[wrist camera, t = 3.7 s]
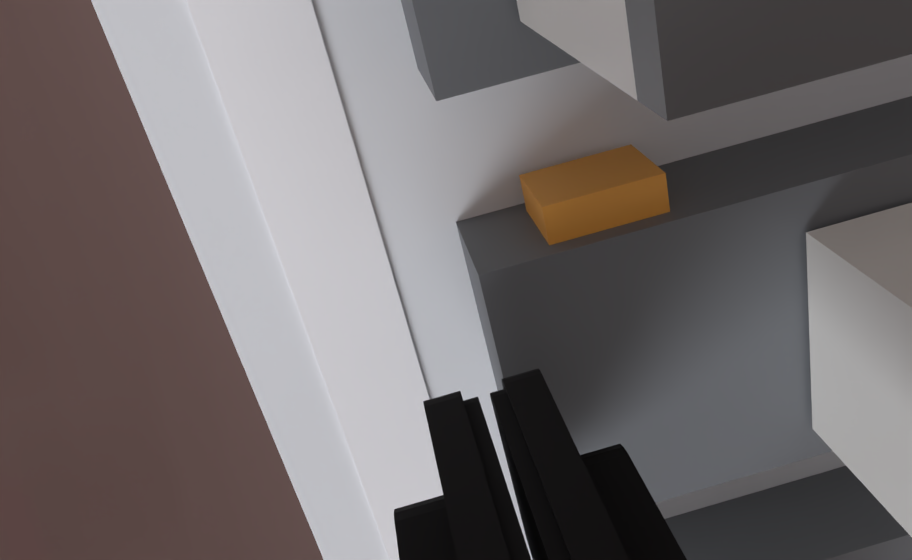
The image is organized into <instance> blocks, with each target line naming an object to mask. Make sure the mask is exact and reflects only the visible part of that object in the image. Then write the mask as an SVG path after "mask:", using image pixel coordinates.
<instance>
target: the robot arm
mask: <svg viewBox="0 0 912 560" xmlns="http://www.w3.org/2000/svg"><path fill="white" fill-rule="evenodd" d="M502 386H503V389H502V390H499V391H495V392H492V393H490V397H491V402H492V406H493V409H494V413H495V417H496V421H497V425H498V429H499V433H500V437H501V441H502V445H503V449H504V453H505V456H506V460H507V464H508V468H509V472H510V476H511V480H512V484H513V488H514V492H515V496H516V500H517V503H518V507H519V511H520V515H521V519H522V523H523V527H524V531H525V535H526V538H527V542H528V545H529V549H530V552H531V555H532V558H533V560H687V559H686V557H685V555H684V553H683V552H682V550H681V548H680V546H679V544H678V543H677V541H676V539H675V537H674V535H673V534H672V532H671V530H670V528H669V526H668V525H667V523H666V521H665V519H664V517H663V516H662V514H661V512H660V510H659V508H658V507H657V505H656V503H655V501H654V499H653V498H652V496H651V494H650V492H649V490H648V489H647V487H646V485H645V483H644V481H643V480H642V478H641V476H640V474H639V472H638V471H637V469H636V467H635V465H634V463H633V462H632V460H631V458H630V456H629V454H628V453H627V451H626V450H625V448H624V447H623V446H622V445H621V444H617V445H613V446H610V447H606V448H603V449H600V450H596V451H593V452H589V453H586V454H582V455H580V454H579V452H578V450H577V447H576V445H575V443H574V441H573V439H572V437H571V435H570V433H569V430H568V428H567V426H566V424H565V422H564V420H563V418H562V416H561V413H560V411H559V409H558V407H557V405H556V403H555V401H554V399H553V396H552V394H551V392H550V390H549V388H548V386H547V384H546V381H545V379H544V377H543V375H542V373H541V371H540V369H534V370H531V371H527V372H524V373H520V374H517V375H513V376H510V377H506V378H503V379H502ZM423 403H424V408H425V413H426V418H427V422H428V427H429V431H430V436H431V440H432V445H433V450H434V454H435V459H436V463H437V468H438V473H439V477H440V482H441V486H442V491H443V495H441V496H438V497H434V498H431V499H428V500H424V501H421V502H417V503H414V504H410V505H407V506H404V507H400V508H397V509H394V522H395V530H396V537H397V545H398V552H399V560H531V557H530V554H529V551H528V548H527V545H526V542H525V539H524V536H523V533H522V530H521V527H520V524H519V521H518V518H517V515H516V512H515V508H514V505H513V502H512V499H511V496H510V493H509V490H508V487H507V484H506V481H505V478H504V475H503V472H502V469H501V466H500V462H499V459H498V456H497V453H496V450H495V447H494V444H493V441H492V438H491V435H490V432H489V429H488V426H487V423H486V420H485V417H484V413H483V410H482V407H481V404H480V401H479V398H478V397H474V398H471V399H467V400H464V401H463V398H462V395H461V392H460V391H457V392H454V393H450V394H447V395H443V396H440V397H436V398H433V399H429V400H426V401H423Z"/></svg>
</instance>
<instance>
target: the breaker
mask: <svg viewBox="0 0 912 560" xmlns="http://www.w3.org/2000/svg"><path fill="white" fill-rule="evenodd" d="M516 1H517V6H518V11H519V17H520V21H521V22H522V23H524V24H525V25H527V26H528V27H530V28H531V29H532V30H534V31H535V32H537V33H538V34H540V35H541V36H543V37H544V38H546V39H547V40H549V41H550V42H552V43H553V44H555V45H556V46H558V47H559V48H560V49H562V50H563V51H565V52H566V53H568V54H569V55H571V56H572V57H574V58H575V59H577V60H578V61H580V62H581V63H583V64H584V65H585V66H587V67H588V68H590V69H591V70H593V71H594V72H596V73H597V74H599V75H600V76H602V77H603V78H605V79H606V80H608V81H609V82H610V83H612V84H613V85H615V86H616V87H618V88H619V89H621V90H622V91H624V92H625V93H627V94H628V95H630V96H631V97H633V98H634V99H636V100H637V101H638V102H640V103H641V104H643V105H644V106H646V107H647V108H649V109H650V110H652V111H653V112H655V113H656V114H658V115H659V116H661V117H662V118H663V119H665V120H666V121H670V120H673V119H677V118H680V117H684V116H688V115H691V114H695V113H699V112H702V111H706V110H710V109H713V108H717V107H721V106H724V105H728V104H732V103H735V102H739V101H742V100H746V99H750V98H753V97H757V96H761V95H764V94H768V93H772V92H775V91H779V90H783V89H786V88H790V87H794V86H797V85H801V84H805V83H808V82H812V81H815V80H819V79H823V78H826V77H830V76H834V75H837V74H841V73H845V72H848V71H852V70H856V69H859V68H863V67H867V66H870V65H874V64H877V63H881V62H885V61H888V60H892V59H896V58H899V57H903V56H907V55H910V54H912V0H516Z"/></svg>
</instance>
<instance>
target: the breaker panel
mask: <svg viewBox="0 0 912 560" xmlns="http://www.w3.org/2000/svg"><path fill="white" fill-rule="evenodd" d="M91 1H92V4H93V6H94V8H95V11H96V13H97V16H98V18H99V20H100V23H101V25H102V28H103V30H104V32H105V35H106V37H107V40H108V42H109V45H110V47H111V49H112V52H113V54H114V57H115V59H116V61H117V64H118V66H119V69H120V71H121V73H122V76H123V78H124V81H125V83H126V85H127V88H128V90H129V93H130V95H131V97H132V100H133V102H134V105H135V107H136V109H137V112H138V114H139V117H140V119H141V121H142V124H143V126H144V129H145V131H146V133H147V136H148V138H149V141H150V143H151V146H152V148H153V150H154V153H155V155H156V158H157V160H158V162H159V165H160V167H161V170H162V172H163V174H164V177H165V179H166V182H167V184H168V186H169V189H170V191H171V194H172V196H173V198H174V201H175V203H176V206H177V208H178V210H179V213H180V215H181V218H182V220H183V222H184V225H185V227H186V230H187V232H188V234H189V237H190V239H191V242H192V244H193V247H194V249H195V251H196V254H197V256H198V259H199V261H200V263H201V266H202V268H203V271H204V273H205V275H206V278H207V280H208V283H209V285H210V287H211V290H212V292H213V295H214V297H215V299H216V302H217V304H218V307H219V309H220V311H221V314H222V316H223V319H224V321H225V323H226V326H227V328H228V331H229V333H230V335H231V338H232V340H233V343H234V345H235V348H236V350H237V352H238V355H239V357H240V360H241V362H242V364H243V367H244V369H245V372H246V374H247V376H248V379H249V381H250V384H251V386H252V388H253V391H254V393H255V396H256V398H257V400H258V403H259V405H260V408H261V410H262V412H263V415H264V417H265V420H266V422H267V424H268V427H269V429H270V432H271V434H272V436H273V439H274V441H275V444H276V446H277V449H278V451H279V453H280V456H281V458H282V461H283V463H284V465H285V468H286V470H287V473H288V475H289V477H290V480H291V482H292V485H293V487H294V489H295V492H296V494H297V497H298V499H299V501H300V504H301V506H302V509H303V511H304V513H305V516H306V518H307V521H308V523H309V525H310V528H311V530H312V533H313V535H314V537H315V540H316V542H317V545H318V547H319V550H320V552H321V554H322V557H323V559H324V560H399V552H398V545H397V537H396V530H395V522H394V509H397V508H400V507H404V506H407V505H410V504H414V503H417V502H421V501H424V500H428V499H431V498H434V497H438V496H441V495H443V491H442V486H441V482H440V477H439V473H438V468H437V463H436V459H435V454H434V450H433V445H432V440H431V436H430V431H429V427H428V422H427V418H426V413H425V408H424V403H423V401H426V400H429V399H433V398H436V397H440V396H443V395H447V394H450V393H454V392H457V391H460V392H461V395H462V398H463V401H464V400H467V399H471V398H474V397H478V398H479V401H480V404H481V407H482V410H483V413H484V417H485V420H486V423H487V426H488V429H489V432H490V435H491V438H492V441H493V444H494V447H495V450H496V453H497V456H498V459H499V462H500V466H501V469H502V472H503V475H504V478H505V481H506V484H507V487H508V490H509V493H510V496H511V499H512V502H513V505H514V508H515V512H516V515H517V518H518V521H519V524H520V527H521V530H522V533H523V536H524V539H525V542H526V545H527V548H528V551H529V554H530V557H531V560H533V558H532V555H531V552H530V549H529V545H528V542H527V538H526V535H525V531H524V527H523V523H522V519H521V515H520V511H519V507H518V503H517V500H516V496H515V492H514V488H513V484H512V480H511V476H510V472H509V468H508V464H507V460H506V456H505V453H504V449H503V445H502V441H501V437H500V433H499V429H498V425H497V421H496V417H495V413H494V409H493V406H492V402H491V397H490V393H492V392H495V391H499V390H502V389H503V386H502V379H503V378H506V377H510V376H513V375H517V374H520V373H524V372H527V371H531V370H534V369H540V371H541V373H542V375H543V377H544V379H545V381H546V384H547V386H548V388H549V390H550V392H551V394H552V396H553V399H554V401H555V403H556V405H557V407H558V409H559V411H560V413H561V416H562V418H563V420H564V422H565V424H566V426H567V428H568V430H569V433H570V435H571V437H572V439H573V441H574V443H575V445H576V447H577V450H578V452H579V454H580V455H582V454H586V453H589V452H593V451H596V450H600V449H603V448H606V447H610V446H613V445H617V444H621V445H622V446H623V447H624V448H625V450H626V451H627V453H628V454H629V456H630V458H631V460H632V462H633V463H634V465H635V467H636V469H637V471H638V472H639V474H640V476H641V478H642V480H643V481H644V483H645V485H646V487H647V489H648V490H649V492H650V494H651V496H652V498H653V499H654V501H655V503H656V505H657V507H658V508H659V510H660V512H661V514H662V516H663V517H664V519H665V521H666V523H667V525H668V526H669V528H670V530H671V532H672V534H673V535H674V537H675V539H676V541H677V543H678V544H679V546H680V548H681V550H682V552H683V553H684V555H685V557H686V559H687V560H912V537H911V536H910V535H909V534H908V533H907V532H906V531H905V530H904V528H903V527H902V526H901V525H900V524H899V523H898V522H897V521H896V520H895V519H894V517H893V516H892V515H891V514H890V513H889V512H888V511H887V510H886V509H885V508H884V507H883V505H882V504H881V503H880V502H879V501H878V500H877V499H876V498H875V497H874V496H873V494H872V493H871V492H870V491H869V490H868V489H867V488H866V487H865V486H864V485H863V484H862V482H861V481H860V480H859V479H858V478H857V477H856V476H855V475H854V474H853V473H852V471H851V470H850V469H849V468H848V467H847V466H846V465H845V464H844V463H843V462H842V461H841V459H840V458H839V457H838V456H837V455H836V454H835V453H834V452H833V451H832V450H831V448H830V447H829V446H828V445H827V444H826V443H825V442H824V441H823V440H822V439H821V438H820V436H819V435H818V434H817V433H816V432H815V431H814V430H813V429H812V401H811V371H810V340H809V310H808V280H807V250H806V232H809V231H812V230H816V229H820V228H823V227H827V226H830V225H834V224H837V223H841V222H844V221H848V220H851V219H855V218H859V217H862V216H866V215H869V214H873V213H876V212H880V211H883V210H887V209H891V208H894V207H898V206H901V205H905V204H908V203H912V54H910V55H907V56H903V57H899V58H896V59H892V60H888V61H885V62H881V63H877V64H874V65H870V66H867V67H863V68H859V69H856V70H852V71H848V72H845V73H841V74H837V75H834V76H830V77H826V78H823V79H819V80H815V81H812V82H808V83H805V84H801V85H797V86H794V87H790V88H786V89H783V90H779V91H775V92H772V93H768V94H764V95H761V96H757V97H753V98H750V99H746V100H742V101H739V102H735V103H732V104H728V105H724V106H721V107H717V108H713V109H710V110H706V111H702V112H699V113H695V114H691V115H688V116H684V117H680V118H677V119H673V120H670V121H666V120H665V119H663V118H662V117H661V116H659V115H658V114H656V113H655V112H653V111H652V110H650V109H649V108H647V107H646V106H644V105H643V104H641V103H640V102H638V101H637V100H636V99H634V98H633V97H631V96H630V95H628V94H627V93H625V92H624V91H622V90H621V89H619V88H618V87H616V86H615V85H613V84H612V83H610V82H609V81H608V80H606V79H605V78H603V77H602V76H600V75H599V74H597V73H596V72H594V71H593V70H591V69H590V68H588V67H587V66H585V65H584V64H583V63H581V62H580V61H578V60H577V59H575V58H574V57H572V56H571V55H569V54H568V53H566V52H565V51H563V50H562V49H560V48H559V47H558V46H556V45H555V44H553V43H552V42H550V41H549V40H547V39H546V38H544V37H543V36H541V35H540V34H538V33H537V32H535V31H534V30H532V29H531V28H530V27H528V26H527V25H525V24H524V23H522V22H521V21H520V17H519V11H518V6H517V1H516V0H91Z"/></svg>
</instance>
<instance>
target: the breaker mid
mask: <svg viewBox="0 0 912 560" xmlns="http://www.w3.org/2000/svg"><path fill="white" fill-rule="evenodd" d="M806 250H807V280H808V310H809V340H810V371H811V401H812V429H813V430H814V431H815V432H816V433H817V434H818V435H819V436H820V438H821V439H822V440H823V441H824V442H825V443H826V444H827V445H828V446H829V447H830V448H831V450H832V451H833V452H834V453H835V454H836V455H837V456H838V457H839V458H840V459H841V461H842V462H843V463H844V464H845V465H846V466H847V467H848V468H849V469H850V470H851V471H852V473H853V474H854V475H855V476H856V477H857V478H858V479H859V480H860V481H861V482H862V484H863V485H864V486H865V487H866V488H867V489H868V490H869V491H870V492H871V493H872V494H873V496H874V497H875V498H876V499H877V500H878V501H879V502H880V503H881V504H882V505H883V507H884V508H885V509H886V510H887V511H888V512H889V513H890V514H891V515H892V516H893V517H894V519H895V520H896V521H897V522H898V523H899V524H900V525H901V526H902V527H903V528H904V530H905V531H906V532H907V533H908V534H909V535H910V536H911V537H912V203H908V204H905V205H901V206H898V207H894V208H891V209H887V210H883V211H880V212H876V213H873V214H869V215H866V216H862V217H859V218H855V219H851V220H848V221H844V222H841V223H837V224H834V225H830V226H827V227H823V228H820V229H816V230H812V231H809V232H806Z"/></svg>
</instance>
